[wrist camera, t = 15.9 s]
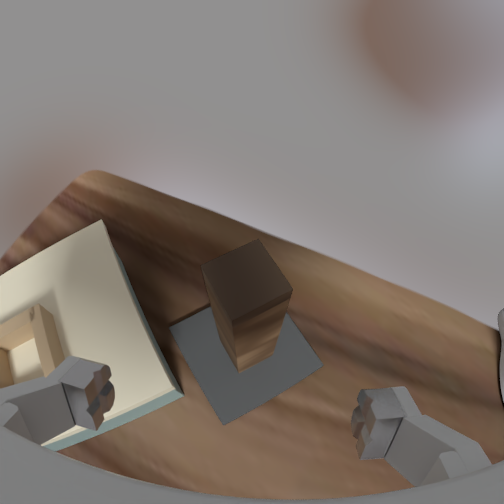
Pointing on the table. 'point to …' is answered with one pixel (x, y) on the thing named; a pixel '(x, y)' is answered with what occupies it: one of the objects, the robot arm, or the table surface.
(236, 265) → the walnut key
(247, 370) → the key mat
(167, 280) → the table surface
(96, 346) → the cream and teal block
